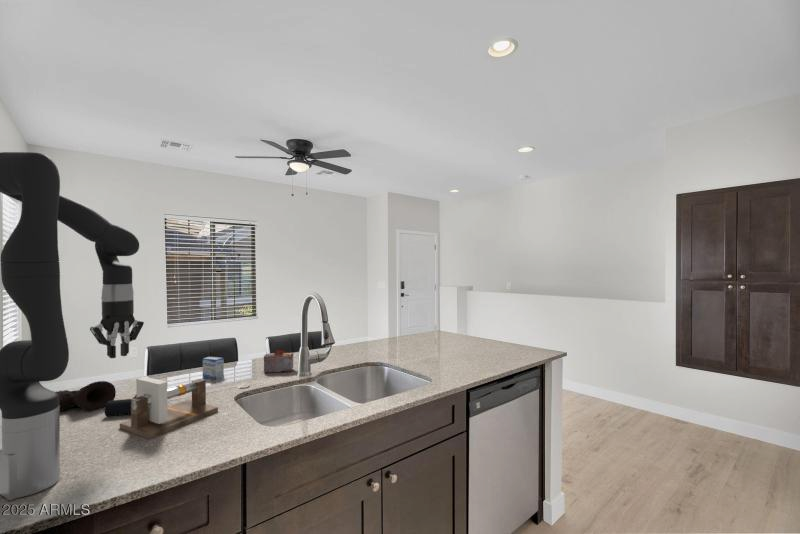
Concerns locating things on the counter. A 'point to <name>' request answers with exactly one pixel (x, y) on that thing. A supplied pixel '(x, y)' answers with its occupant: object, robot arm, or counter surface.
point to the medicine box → (213, 367)
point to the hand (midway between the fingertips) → (118, 356)
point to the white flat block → (154, 397)
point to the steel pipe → (172, 392)
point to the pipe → (88, 396)
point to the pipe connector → (118, 407)
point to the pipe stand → (169, 414)
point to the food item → (278, 361)
